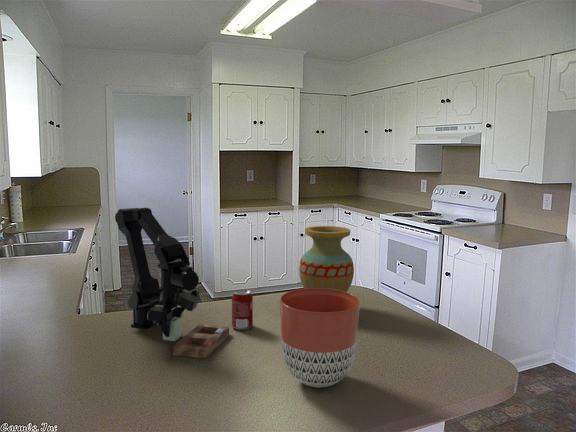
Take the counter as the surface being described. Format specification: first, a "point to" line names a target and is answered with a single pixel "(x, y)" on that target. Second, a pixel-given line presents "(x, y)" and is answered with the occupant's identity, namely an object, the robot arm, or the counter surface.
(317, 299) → the planter
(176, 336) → the plug
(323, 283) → the vase
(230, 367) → the counter surface
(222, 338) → the socket block
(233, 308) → the soda can
